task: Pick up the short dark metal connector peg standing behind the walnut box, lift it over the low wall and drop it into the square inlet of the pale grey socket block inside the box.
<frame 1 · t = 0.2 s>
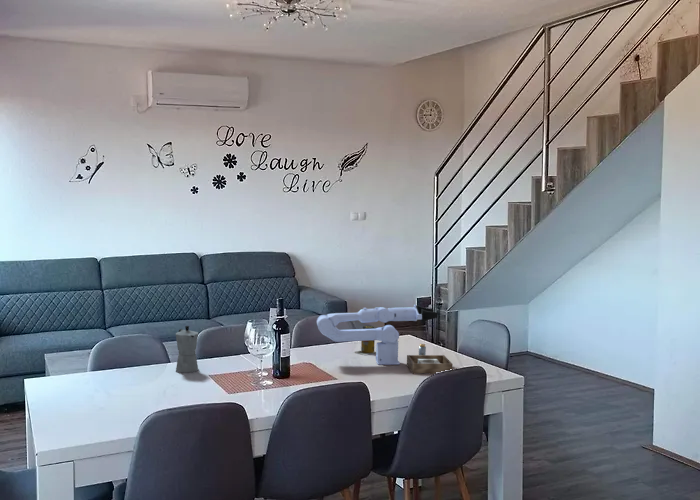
hand: (435, 313, 302), 21 cm above the table, fingers open, 7 cm apart
walled box: (428, 369, 292), on the table
coffeepot: (186, 370, 283), on the table
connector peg: (421, 360, 308), on the table
condiment: (366, 353, 321), on the table
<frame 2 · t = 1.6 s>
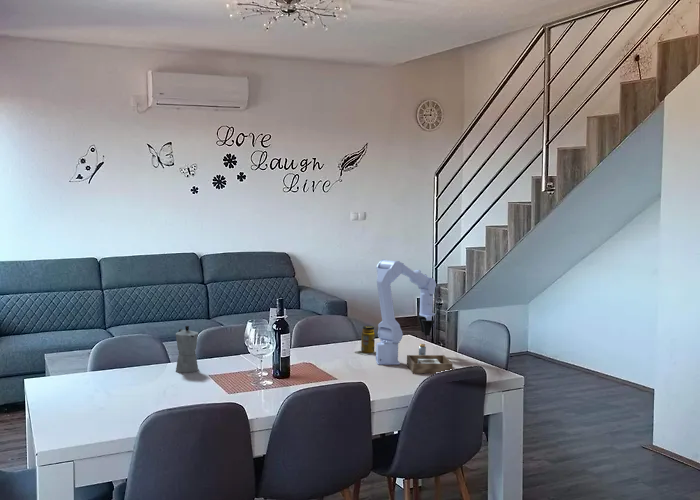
hand: (425, 333, 316), 10 cm above the table, fingers open, 7 cm apart
nothing on the table moved.
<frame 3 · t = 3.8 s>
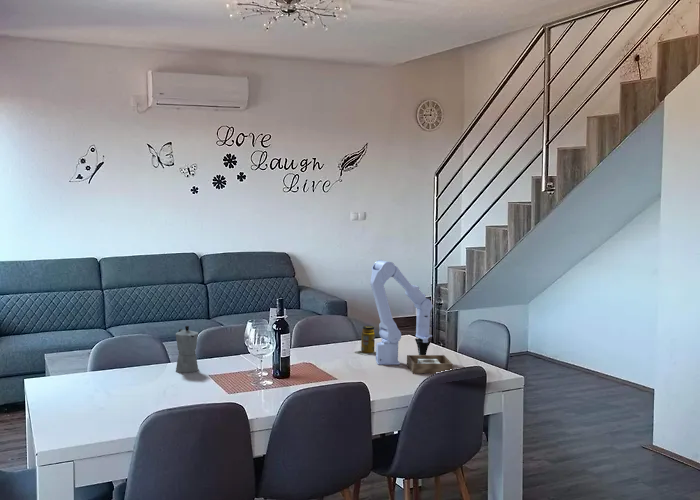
hand: (422, 355, 308), 2 cm above the table, fingers closed on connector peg, 3 cm apart
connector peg: (422, 360, 308), on the table, touching gripper
everything else where it was.
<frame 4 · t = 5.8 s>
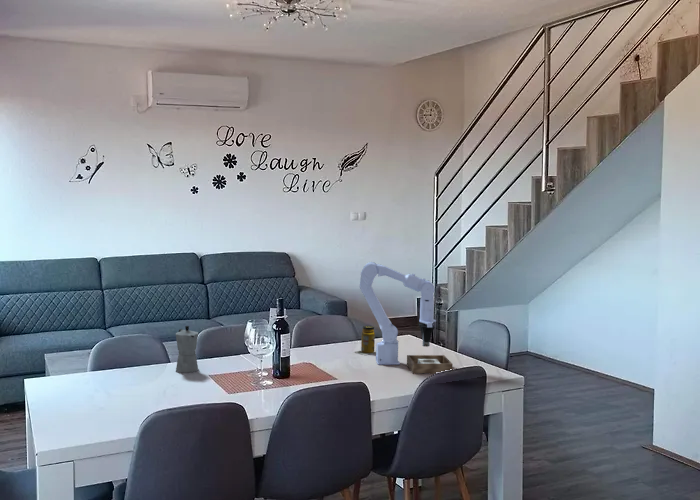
hand: (426, 341, 299), 10 cm above the table, fingers closed on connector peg, 3 cm apart
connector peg: (426, 345, 299), point 8 cm above the table, touching gripper
everything else where it was.
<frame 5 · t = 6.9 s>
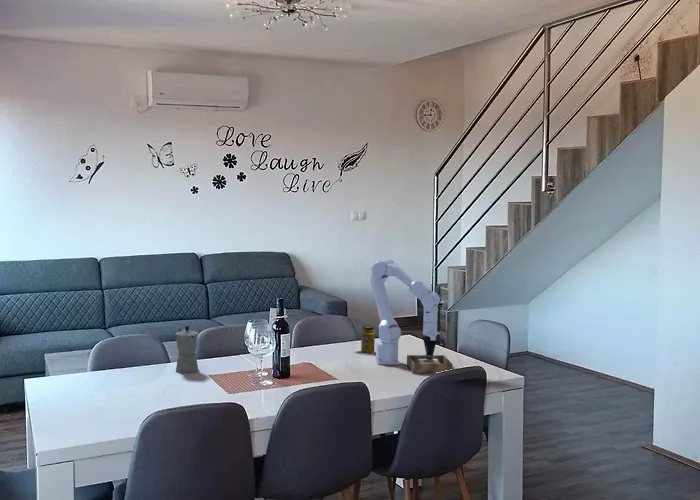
hand: (429, 354, 291), 6 cm above the table, fingers closed on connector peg, 3 cm apart
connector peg: (429, 358, 292), point 4 cm above the table, touching gripper
everything else where it was.
when the fingers open (4 cm above the table, at t = 8.0 s): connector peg drops 1 cm, resting on walled box.
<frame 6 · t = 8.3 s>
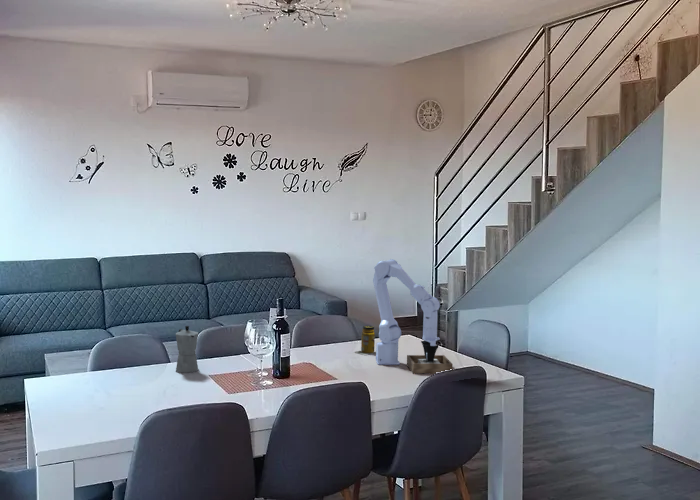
hand: (429, 359, 292), 4 cm above the table, fingers open, 5 cm apart
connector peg: (429, 367, 292), point 1 cm above the table, touching walled box
everything else where it was.
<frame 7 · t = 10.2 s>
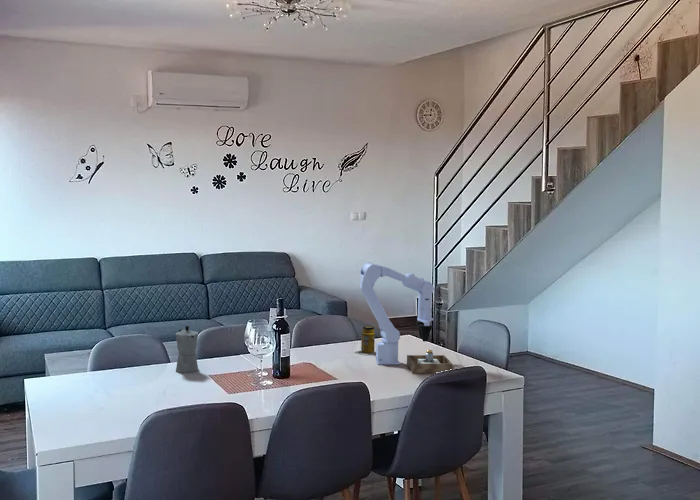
hand: (423, 339, 304), 10 cm above the table, fingers open, 7 cm apart
nothing on the table moved.
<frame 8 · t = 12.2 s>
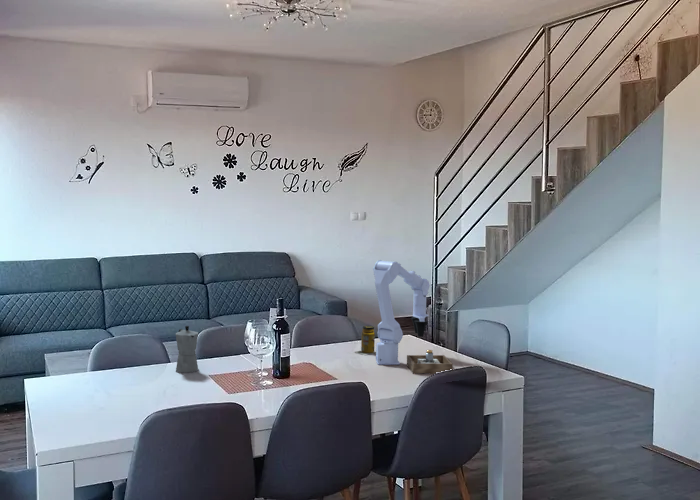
hand: (418, 334, 316), 9 cm above the table, fingers open, 7 cm apart
nothing on the table moved.
at the end: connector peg 0.1 cm off-centre on the walled box, point 0.8 cm above the walled box's base; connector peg tilted 1°; the gripper is holding nothing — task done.
